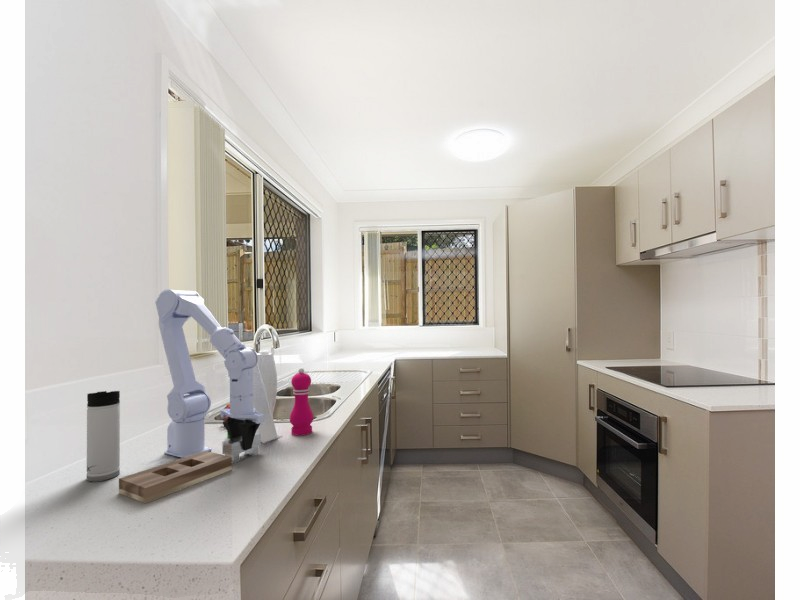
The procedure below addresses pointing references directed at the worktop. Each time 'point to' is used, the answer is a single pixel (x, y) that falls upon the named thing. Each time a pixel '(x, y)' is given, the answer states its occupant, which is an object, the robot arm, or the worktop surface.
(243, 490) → the worktop surface
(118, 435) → the travel mug
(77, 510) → the worktop surface
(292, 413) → the pepper mill
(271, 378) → the skyscraper
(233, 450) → the grey block
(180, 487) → the wooden slotted board
